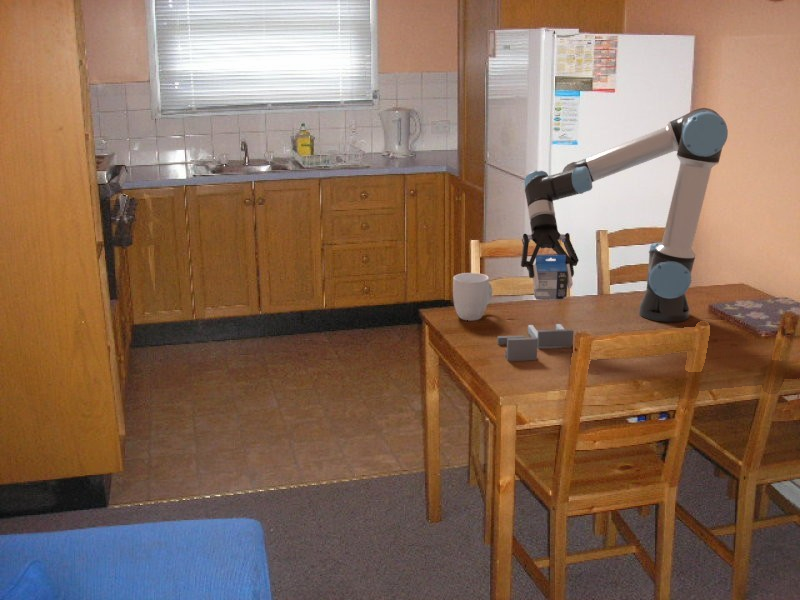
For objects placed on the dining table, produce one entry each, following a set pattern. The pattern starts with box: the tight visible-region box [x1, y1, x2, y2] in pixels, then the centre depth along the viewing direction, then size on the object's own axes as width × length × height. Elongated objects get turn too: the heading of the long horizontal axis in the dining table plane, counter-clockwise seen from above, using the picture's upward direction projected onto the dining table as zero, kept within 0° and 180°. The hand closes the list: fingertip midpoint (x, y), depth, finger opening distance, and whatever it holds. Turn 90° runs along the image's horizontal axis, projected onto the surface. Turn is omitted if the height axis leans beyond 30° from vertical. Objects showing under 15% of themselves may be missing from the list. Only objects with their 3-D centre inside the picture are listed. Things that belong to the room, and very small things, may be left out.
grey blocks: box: [496, 334, 538, 362], centre depth 252 cm, size 8×15×6 cm, turn 5°
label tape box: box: [533, 254, 568, 301], centre depth 257 cm, size 9×4×12 cm, turn 92°
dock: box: [527, 323, 574, 350], centre depth 261 cm, size 10×14×5 cm
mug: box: [452, 272, 493, 322], centre depth 282 cm, size 15×11×13 cm
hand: (553, 286), depth 255 cm, fingers closed on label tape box, 9 cm apart
